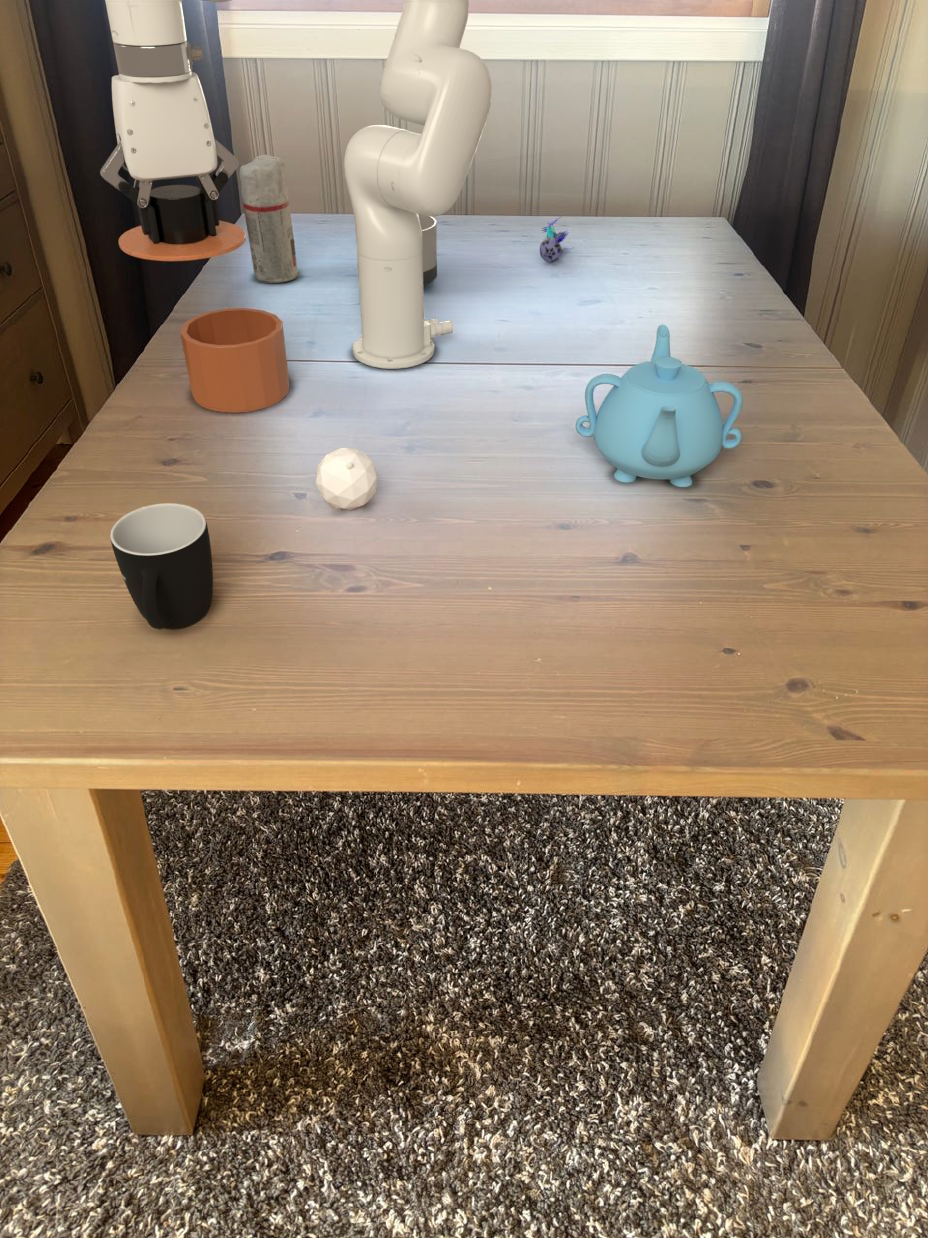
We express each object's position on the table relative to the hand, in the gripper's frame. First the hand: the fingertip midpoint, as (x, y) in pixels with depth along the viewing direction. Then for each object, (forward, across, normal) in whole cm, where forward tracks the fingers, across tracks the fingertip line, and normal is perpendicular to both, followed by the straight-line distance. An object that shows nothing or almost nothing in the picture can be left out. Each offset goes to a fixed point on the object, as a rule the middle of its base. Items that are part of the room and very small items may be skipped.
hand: (182, 234), depth 111 cm
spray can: (+25, -26, -51) cm, 62 cm away
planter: (+24, -45, -38) cm, 64 cm away
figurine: (+24, -78, -39) cm, 90 cm away
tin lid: (+1, 0, 0) cm, 1 cm away
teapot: (+25, -47, +35) cm, 63 cm away
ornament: (+25, -9, +26) cm, 37 cm away
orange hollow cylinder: (+25, -6, -9) cm, 27 cm away
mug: (+25, +15, +39) cm, 49 cm away
